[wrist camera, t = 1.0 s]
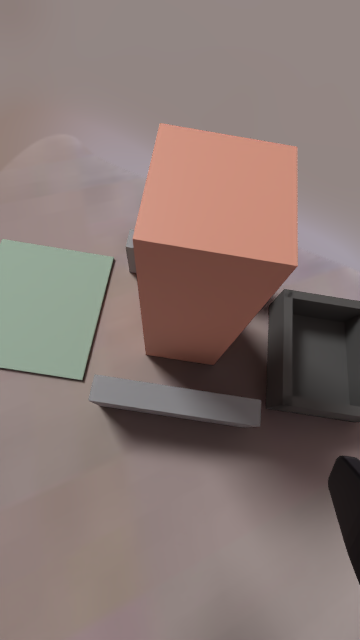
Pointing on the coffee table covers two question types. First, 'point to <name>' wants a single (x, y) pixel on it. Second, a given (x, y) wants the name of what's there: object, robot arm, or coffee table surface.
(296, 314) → the dark grey open box
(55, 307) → the sage mat
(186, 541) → the coffee table surface
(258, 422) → the grey parallel walls
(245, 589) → the coffee table surface
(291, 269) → the salmon-pink block
